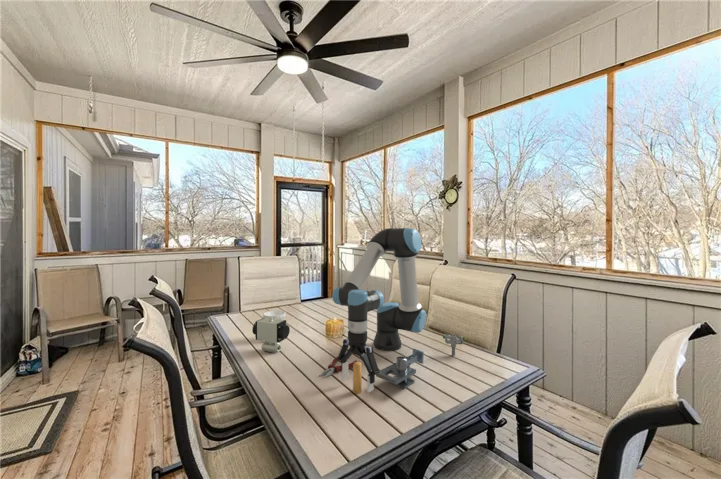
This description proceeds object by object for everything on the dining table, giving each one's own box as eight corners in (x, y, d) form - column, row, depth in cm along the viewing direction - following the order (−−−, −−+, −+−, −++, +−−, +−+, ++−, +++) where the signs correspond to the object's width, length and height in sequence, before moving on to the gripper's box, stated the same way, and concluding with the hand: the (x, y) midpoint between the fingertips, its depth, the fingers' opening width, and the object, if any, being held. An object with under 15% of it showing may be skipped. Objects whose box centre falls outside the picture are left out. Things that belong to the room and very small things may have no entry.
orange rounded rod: (351, 391, 121) (351, 363, 120) (357, 388, 123) (357, 361, 123) (357, 394, 119) (357, 366, 118) (363, 391, 121) (363, 363, 121)
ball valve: (291, 350, 162) (291, 316, 161) (282, 356, 154) (282, 321, 153) (262, 346, 168) (262, 313, 167) (252, 351, 160) (251, 317, 159)
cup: (258, 341, 174) (258, 314, 174) (272, 334, 186) (272, 309, 185) (276, 344, 170) (276, 317, 169) (290, 337, 181) (290, 311, 181)
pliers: (311, 376, 135) (311, 370, 135) (339, 359, 152) (339, 354, 151) (332, 383, 128) (332, 377, 128) (358, 365, 145) (358, 360, 145)
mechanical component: (464, 357, 154) (464, 337, 154) (443, 355, 156) (443, 335, 156) (463, 355, 157) (463, 335, 157) (442, 353, 159) (442, 334, 159)
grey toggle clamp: (375, 387, 124) (375, 362, 124) (409, 369, 141) (409, 347, 140) (395, 396, 117) (396, 370, 117) (428, 376, 134) (428, 353, 134)
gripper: (329, 325, 126) (329, 377, 127) (375, 340, 109) (375, 400, 109) (342, 321, 131) (342, 371, 132) (388, 335, 114) (388, 392, 115)
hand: (357, 384), depth 121 cm, fingers open, 13 cm apart
